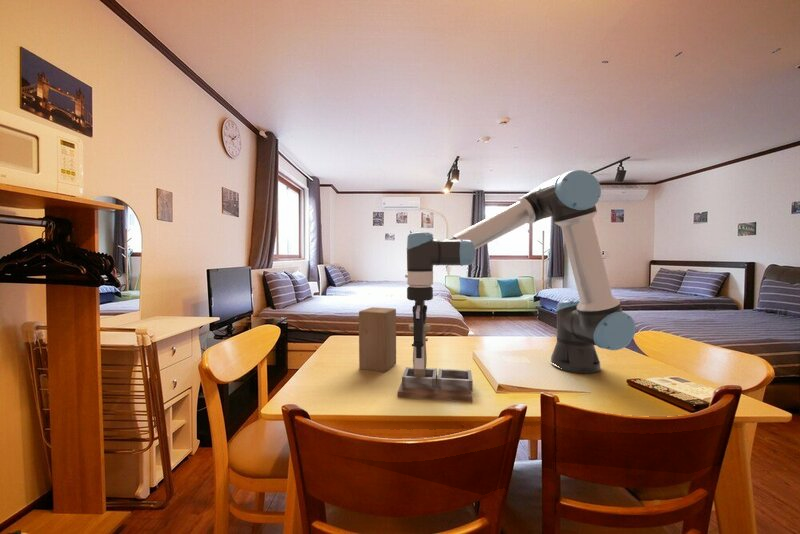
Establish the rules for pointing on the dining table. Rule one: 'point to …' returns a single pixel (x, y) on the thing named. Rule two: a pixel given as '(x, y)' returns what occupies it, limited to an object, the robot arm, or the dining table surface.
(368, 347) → the wooden block
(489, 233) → the robot arm
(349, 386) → the dining table surface
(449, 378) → the grey double square tray
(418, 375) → the handle
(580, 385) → the dining table surface
